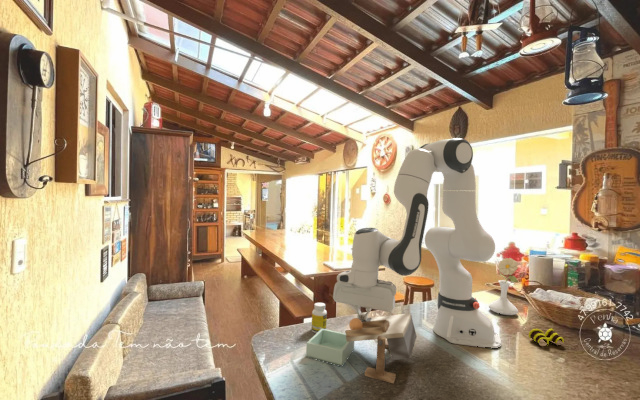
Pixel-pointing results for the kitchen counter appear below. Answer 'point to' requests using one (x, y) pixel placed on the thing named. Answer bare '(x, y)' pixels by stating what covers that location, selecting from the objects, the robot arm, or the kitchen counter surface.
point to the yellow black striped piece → (545, 336)
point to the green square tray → (329, 347)
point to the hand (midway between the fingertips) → (362, 319)
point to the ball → (355, 324)
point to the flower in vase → (505, 288)
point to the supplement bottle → (319, 317)
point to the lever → (388, 333)
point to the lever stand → (381, 362)
